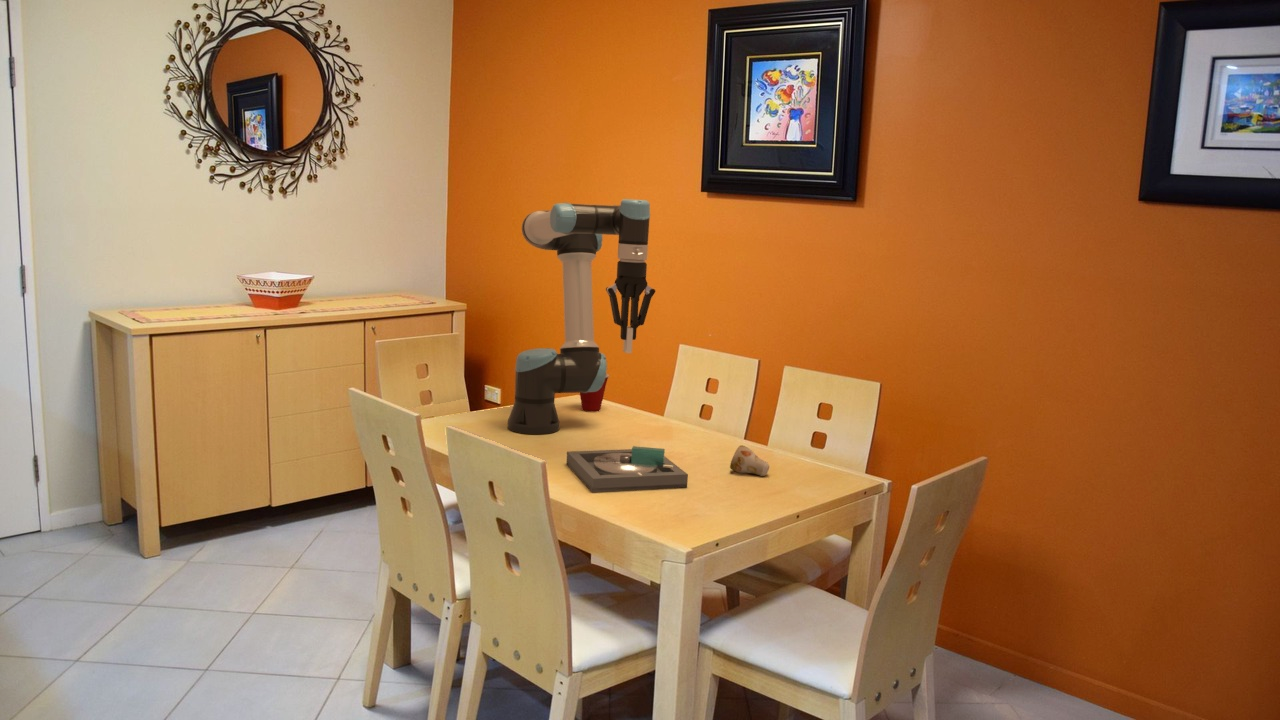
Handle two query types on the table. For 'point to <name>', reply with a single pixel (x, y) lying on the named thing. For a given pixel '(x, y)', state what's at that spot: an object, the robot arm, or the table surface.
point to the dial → (630, 461)
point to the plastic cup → (593, 398)
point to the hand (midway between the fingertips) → (627, 352)
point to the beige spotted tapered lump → (748, 462)
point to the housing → (663, 479)
